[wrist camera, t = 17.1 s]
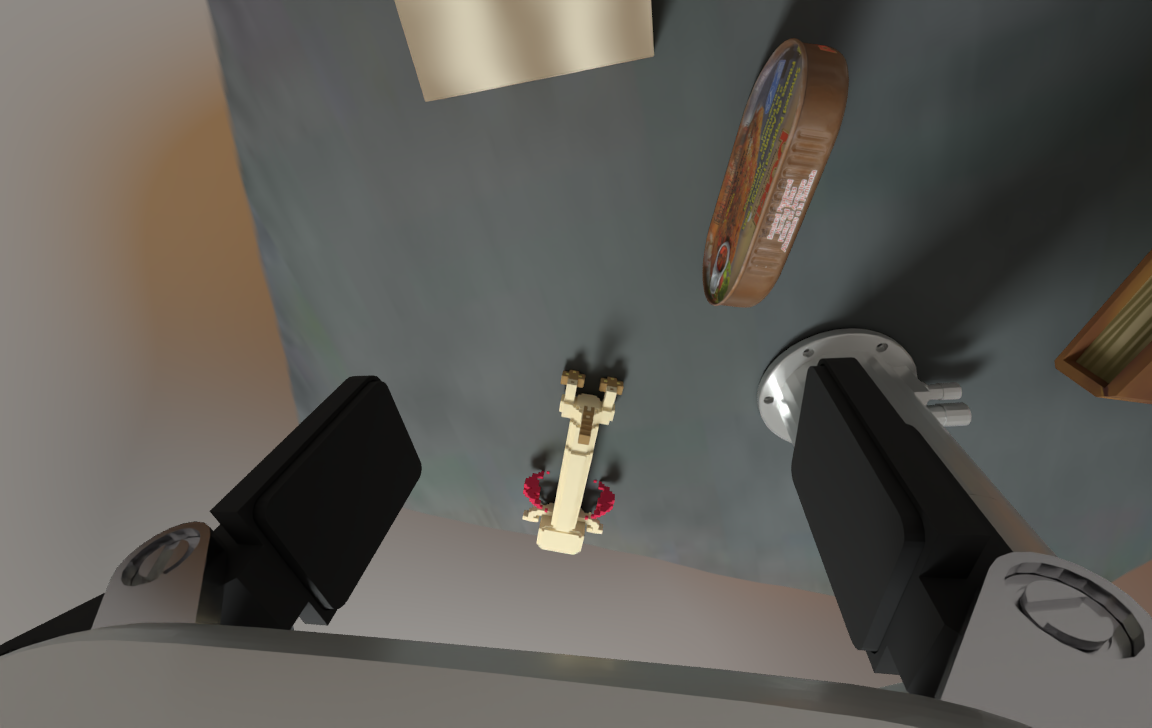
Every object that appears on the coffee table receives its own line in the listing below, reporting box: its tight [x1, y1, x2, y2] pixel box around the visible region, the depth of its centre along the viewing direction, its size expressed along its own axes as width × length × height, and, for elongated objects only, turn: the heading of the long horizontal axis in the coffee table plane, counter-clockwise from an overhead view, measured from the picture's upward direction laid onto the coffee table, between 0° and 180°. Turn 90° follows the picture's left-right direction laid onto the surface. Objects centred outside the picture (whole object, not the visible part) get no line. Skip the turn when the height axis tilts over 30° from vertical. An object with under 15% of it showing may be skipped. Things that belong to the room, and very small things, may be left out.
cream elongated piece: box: [523, 370, 623, 555], centre depth 45 cm, size 10×9×25 cm
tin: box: [703, 38, 849, 307], centre depth 27 cm, size 15×3×8 cm, turn 173°
